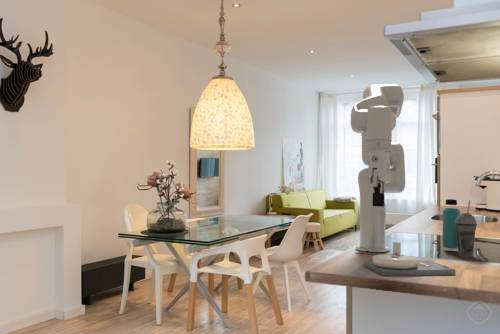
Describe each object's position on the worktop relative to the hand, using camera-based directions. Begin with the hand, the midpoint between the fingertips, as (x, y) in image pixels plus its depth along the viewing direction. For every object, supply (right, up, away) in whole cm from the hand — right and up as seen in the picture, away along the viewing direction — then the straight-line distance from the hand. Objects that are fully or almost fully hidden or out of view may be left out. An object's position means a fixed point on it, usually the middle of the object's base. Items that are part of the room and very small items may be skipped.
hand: (378, 206), depth 141 cm
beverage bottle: (+38, -21, +35) cm, 55 cm away
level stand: (+8, -19, -2) cm, 21 cm away
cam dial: (+4, -18, -3) cm, 18 cm away
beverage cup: (+38, -20, +24) cm, 49 cm away
